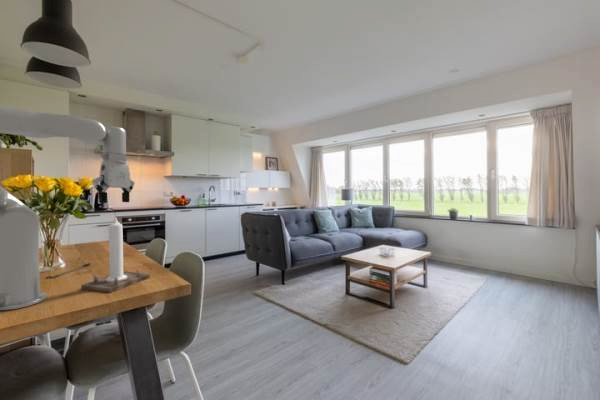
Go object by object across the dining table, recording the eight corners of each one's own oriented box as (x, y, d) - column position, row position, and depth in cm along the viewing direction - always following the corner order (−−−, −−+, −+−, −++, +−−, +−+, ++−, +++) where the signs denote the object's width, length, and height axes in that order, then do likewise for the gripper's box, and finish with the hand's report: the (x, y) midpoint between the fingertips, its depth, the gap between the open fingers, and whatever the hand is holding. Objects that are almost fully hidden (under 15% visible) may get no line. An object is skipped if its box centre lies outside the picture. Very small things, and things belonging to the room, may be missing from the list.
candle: (106, 283, 104) (105, 218, 104) (105, 278, 110) (103, 216, 109) (128, 279, 109) (127, 216, 108) (125, 275, 114) (124, 215, 114)
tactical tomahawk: (60, 281, 115) (60, 278, 115) (45, 279, 115) (45, 277, 115) (100, 266, 136) (100, 264, 136) (87, 265, 136) (87, 262, 136)
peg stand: (110, 292, 99) (110, 281, 99) (81, 288, 103) (81, 278, 103) (150, 277, 117) (149, 268, 117) (123, 274, 120) (123, 265, 120)
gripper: (101, 155, 99) (101, 203, 99) (140, 161, 115) (140, 202, 116) (85, 156, 101) (85, 202, 101) (126, 161, 117) (126, 201, 118)
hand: (114, 202), depth 108 cm, fingers open, 9 cm apart
